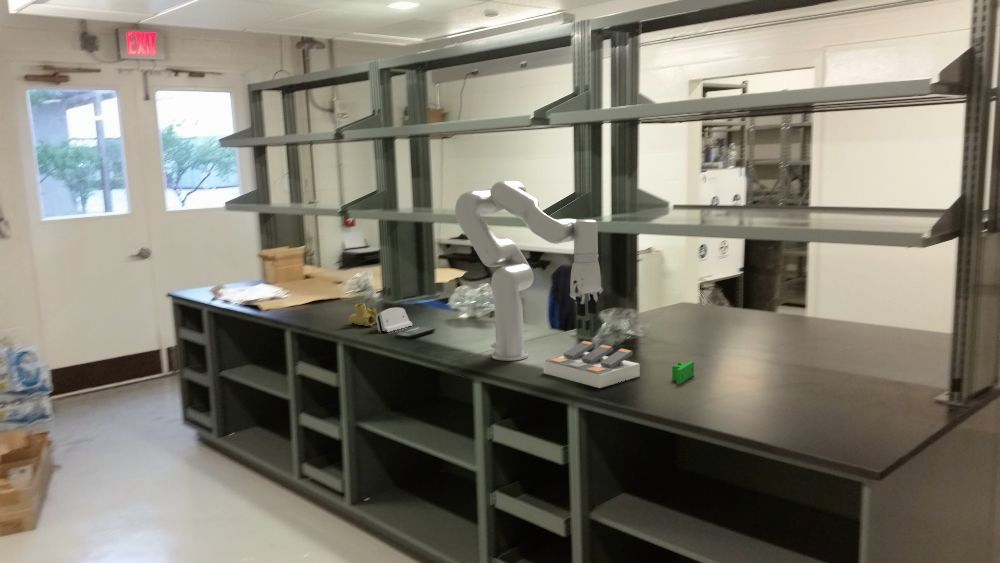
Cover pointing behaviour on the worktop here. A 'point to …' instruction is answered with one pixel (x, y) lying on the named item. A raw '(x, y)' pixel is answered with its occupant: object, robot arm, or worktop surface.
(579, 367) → the switch unit
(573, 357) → the block
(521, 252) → the robot arm
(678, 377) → the pipe clamp
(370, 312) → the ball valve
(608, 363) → the rocker
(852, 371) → the worktop surface
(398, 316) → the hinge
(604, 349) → the rocker
